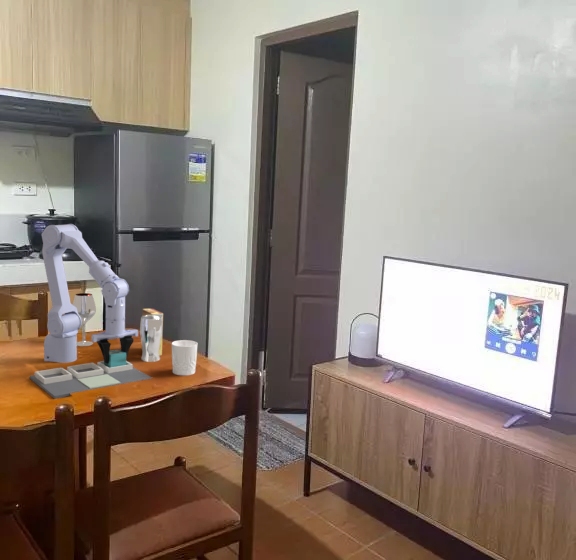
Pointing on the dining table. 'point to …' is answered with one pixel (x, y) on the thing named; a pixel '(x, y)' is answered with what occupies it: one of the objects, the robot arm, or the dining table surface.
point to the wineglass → (84, 312)
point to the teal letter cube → (116, 358)
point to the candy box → (155, 312)
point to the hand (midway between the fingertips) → (115, 361)
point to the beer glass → (150, 337)
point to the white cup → (184, 357)
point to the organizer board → (85, 378)
